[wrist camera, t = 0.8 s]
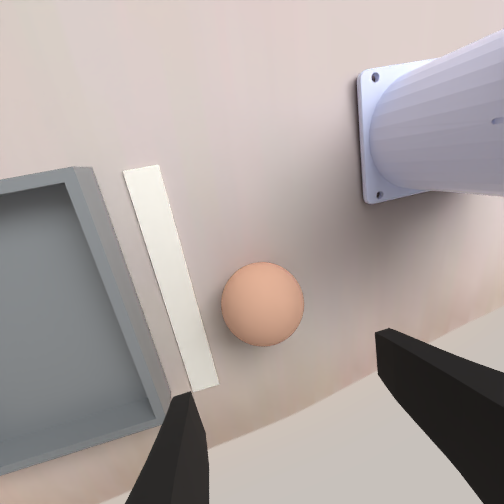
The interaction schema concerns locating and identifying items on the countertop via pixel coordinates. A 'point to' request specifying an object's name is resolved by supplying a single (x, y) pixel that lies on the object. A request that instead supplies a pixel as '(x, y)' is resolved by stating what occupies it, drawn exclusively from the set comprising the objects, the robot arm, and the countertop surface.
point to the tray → (69, 324)
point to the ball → (262, 304)
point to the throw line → (171, 273)
